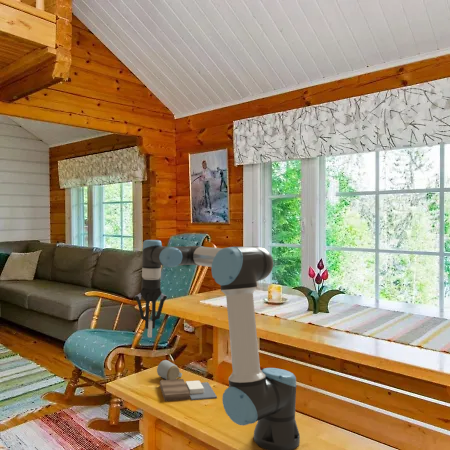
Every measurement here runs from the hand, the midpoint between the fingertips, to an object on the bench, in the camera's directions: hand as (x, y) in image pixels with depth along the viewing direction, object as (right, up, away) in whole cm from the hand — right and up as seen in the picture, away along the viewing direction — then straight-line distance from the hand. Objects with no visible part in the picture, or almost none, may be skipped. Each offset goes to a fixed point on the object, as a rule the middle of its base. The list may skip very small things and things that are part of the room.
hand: (149, 336), depth 179 cm
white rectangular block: (+18, -24, +8) cm, 31 cm away
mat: (+20, -25, +7) cm, 33 cm away
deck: (+9, -25, +5) cm, 27 cm away
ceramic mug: (+6, -25, +21) cm, 33 cm away
